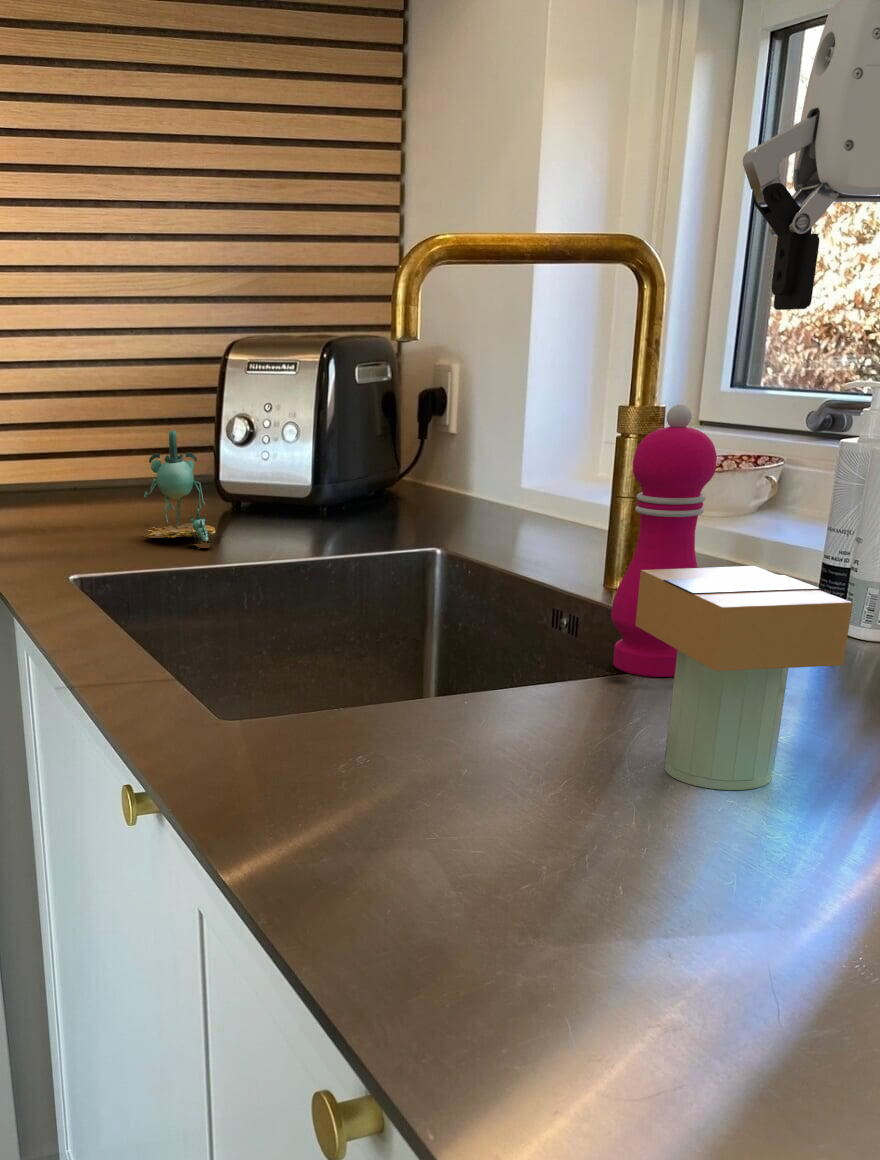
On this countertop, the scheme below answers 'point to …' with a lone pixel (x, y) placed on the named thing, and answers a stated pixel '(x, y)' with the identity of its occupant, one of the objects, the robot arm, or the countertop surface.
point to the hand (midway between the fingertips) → (867, 308)
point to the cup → (724, 725)
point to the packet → (743, 618)
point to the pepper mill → (662, 531)
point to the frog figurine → (177, 491)
